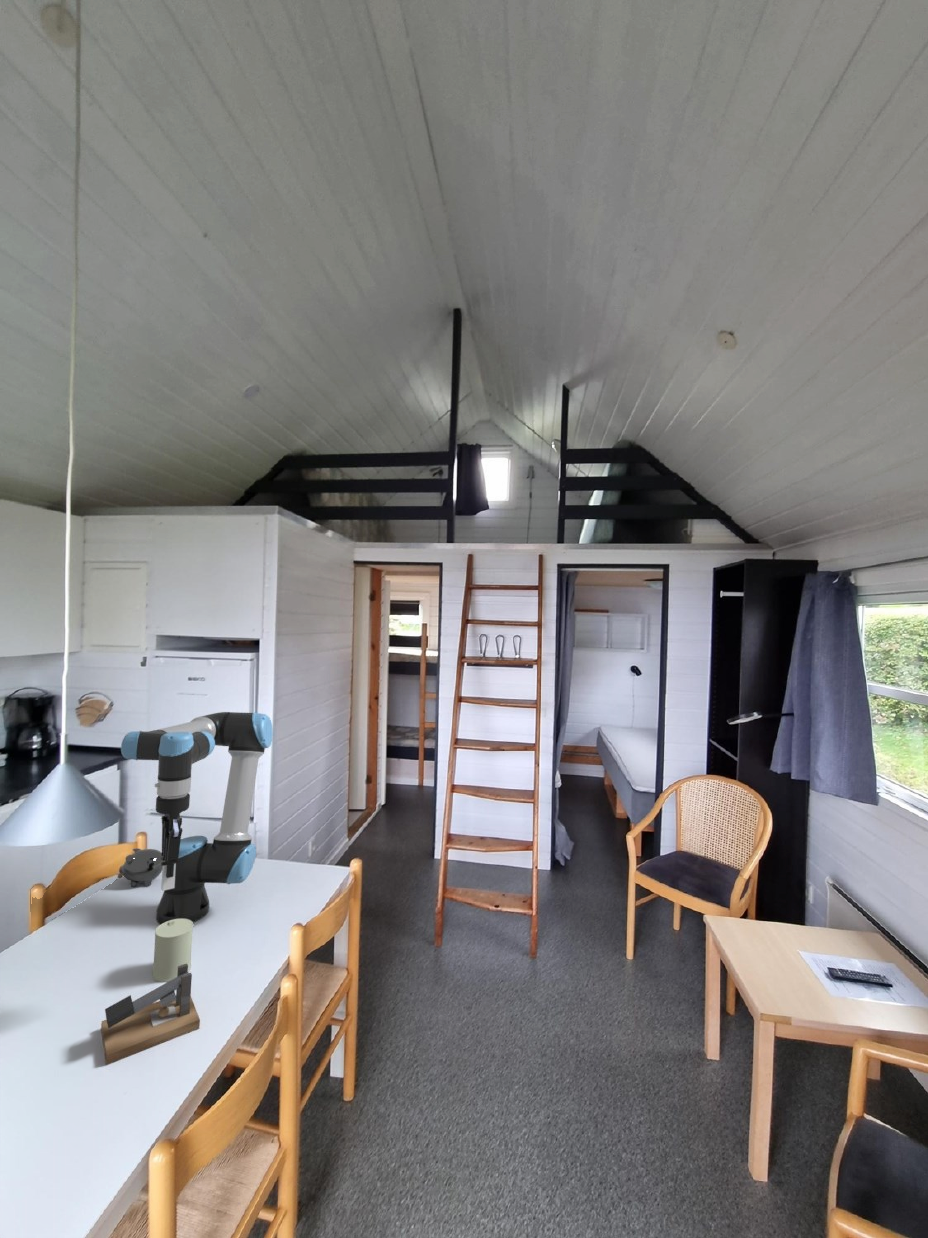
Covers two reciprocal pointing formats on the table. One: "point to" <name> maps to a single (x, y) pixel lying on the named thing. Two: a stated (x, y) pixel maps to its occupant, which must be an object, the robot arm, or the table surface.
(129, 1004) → the lever
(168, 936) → the can
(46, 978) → the table surface
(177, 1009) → the base
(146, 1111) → the table surface
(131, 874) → the piggy bank
